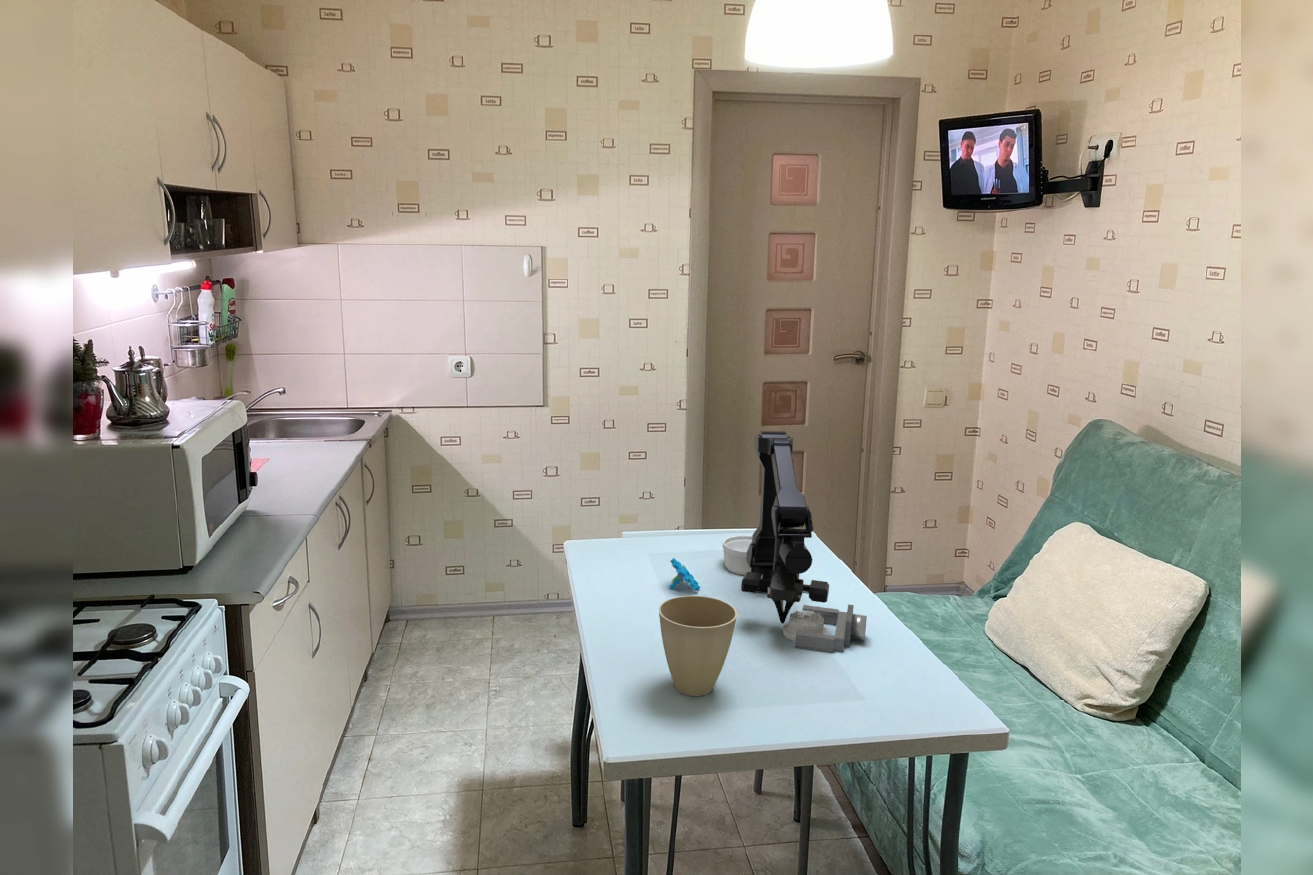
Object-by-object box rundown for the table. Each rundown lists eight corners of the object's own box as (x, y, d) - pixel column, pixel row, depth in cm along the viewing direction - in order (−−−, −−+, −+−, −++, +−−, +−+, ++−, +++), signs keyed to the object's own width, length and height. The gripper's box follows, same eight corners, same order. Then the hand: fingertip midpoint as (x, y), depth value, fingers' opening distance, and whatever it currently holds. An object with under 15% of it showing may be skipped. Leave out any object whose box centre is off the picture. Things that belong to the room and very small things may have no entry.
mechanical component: (780, 641, 198) (826, 647, 196) (781, 622, 197) (828, 628, 195) (785, 622, 208) (829, 628, 206) (786, 604, 207) (831, 610, 205)
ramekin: (712, 562, 242) (713, 537, 240) (755, 556, 247) (757, 532, 246) (737, 580, 230) (738, 554, 229) (782, 574, 236) (783, 548, 234)
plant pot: (729, 710, 169) (733, 631, 165) (649, 701, 172) (652, 622, 168) (736, 672, 183) (740, 598, 180) (662, 664, 186) (665, 591, 182)
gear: (702, 591, 219) (674, 561, 218) (684, 608, 219) (656, 578, 218) (701, 580, 230) (674, 551, 229) (684, 595, 230) (656, 567, 229)
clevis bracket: (795, 647, 195) (797, 621, 194) (802, 616, 210) (804, 592, 209) (863, 656, 192) (865, 630, 190) (865, 625, 207) (868, 600, 206)
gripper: (738, 563, 194) (734, 631, 198) (827, 575, 190) (821, 644, 193) (747, 546, 205) (743, 611, 208) (831, 556, 200) (826, 623, 204)
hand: (782, 622), depth 203 cm, fingers closed
